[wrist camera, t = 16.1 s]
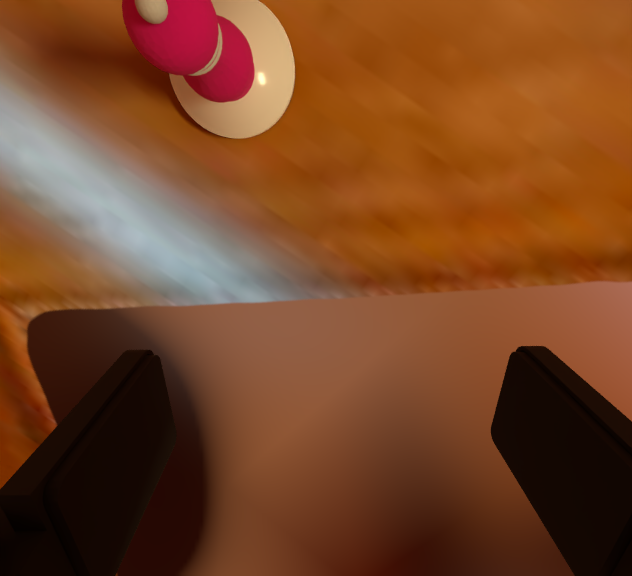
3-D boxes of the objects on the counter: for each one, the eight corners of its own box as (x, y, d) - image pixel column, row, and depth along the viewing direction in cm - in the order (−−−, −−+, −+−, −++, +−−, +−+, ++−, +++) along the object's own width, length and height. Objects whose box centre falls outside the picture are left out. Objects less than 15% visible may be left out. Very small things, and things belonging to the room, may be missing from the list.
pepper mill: (220, 119, 40) (140, 98, 21) (179, 56, 37) (50, -30, 19) (271, 83, 38) (234, 26, 20) (233, 14, 36) (150, -123, 17)
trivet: (203, 153, 42) (200, 154, 41) (150, 22, 37) (143, 17, 36) (310, 117, 41) (310, 116, 39) (270, -26, 36) (268, -33, 34)
